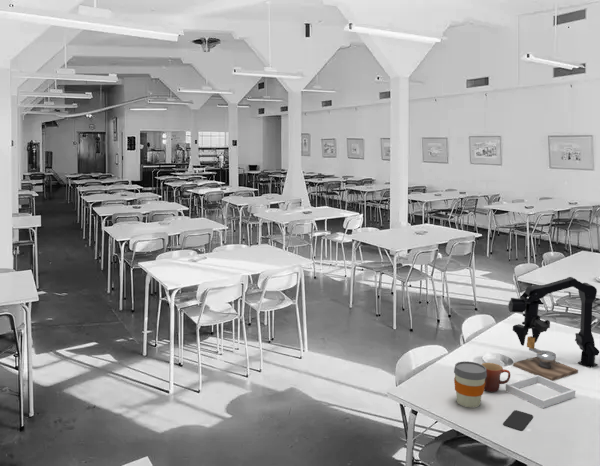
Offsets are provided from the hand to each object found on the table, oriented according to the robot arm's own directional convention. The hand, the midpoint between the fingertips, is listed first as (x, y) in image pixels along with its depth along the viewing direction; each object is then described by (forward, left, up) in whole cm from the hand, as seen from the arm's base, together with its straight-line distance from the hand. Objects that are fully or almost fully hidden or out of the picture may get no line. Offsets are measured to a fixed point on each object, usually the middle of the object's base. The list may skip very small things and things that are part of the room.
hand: (528, 343), depth 263 cm
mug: (+40, +14, -10) cm, 43 cm away
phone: (+54, +37, -10) cm, 66 cm away
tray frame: (+26, +26, -9) cm, 38 cm away
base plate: (0, +10, -9) cm, 13 cm away
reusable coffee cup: (+59, +17, -10) cm, 62 cm away
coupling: (0, +7, -5) cm, 8 cm away
